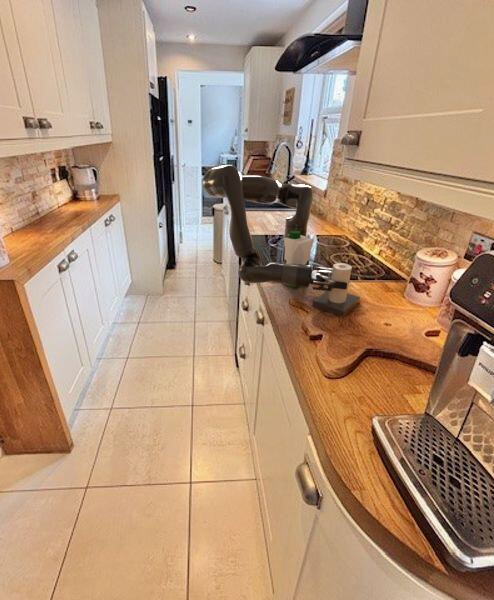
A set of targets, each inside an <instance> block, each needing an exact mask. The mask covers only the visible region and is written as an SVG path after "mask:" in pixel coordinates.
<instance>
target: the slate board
mask: <svg viewBox="0 0 494 600" xmlns="http://www.w3.org/2000/svg"><path fill="white" fill-rule="evenodd" d="M328 294H329V291H324V292H323V293H322V294H320V295H319V296H318V297H316V298H315V299H313V301H312V305H311V306H312V307H314V308H316V309H320V310H322V311H326V312H328V313H331V314H334V315H336V316H339V317H343V318H344V317H345V316H346V315H347V314H348V313H349V312H350V311H351V310H353V309H354V308H355V307H356V306H357V305H358V304H359V303H360V302H361V301H360V300H361V296H358V295H354V294H352V293H348V292H347V296H346V301H345V302H343V303H334V302H331V301H330V300H329V299H328Z"/></svg>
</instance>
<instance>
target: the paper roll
mask: <svg viewBox="0 0 494 600" xmlns="http://www.w3.org/2000/svg"><path fill="white" fill-rule="evenodd" d="M352 268H353V267H352V266H351V264H348V263H343V262H336V263H334V264H333V265H332V268H331V269H332V275H331V279H330V280H333V281H339V282H346V283H347V289H337V288H334V289H332V290H331V291H329V294H328V299H329V300H330V301H331V302H334V303H343V302H345V301H346V296H347V293H348V291H349V286H350V279H351V273H352Z"/></svg>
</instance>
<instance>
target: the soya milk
mask: <svg viewBox="0 0 494 600" xmlns="http://www.w3.org/2000/svg"><path fill="white" fill-rule="evenodd" d="M300 233H301V232H300V231H297V230H292V231H290V232H289V236H288V237H286V238H284V237H283V245H284V244H285V259H284V264H300V265H308V266H310V259H311V251H312V248H313V244H314V241H315V239H314V238H311V237H309V236H306V237H305V236H302V235H300ZM287 286H289V287H290V288H293V289H298V288H300V287H299V286H291V285H287Z"/></svg>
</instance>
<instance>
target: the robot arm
mask: <svg viewBox="0 0 494 600" xmlns="http://www.w3.org/2000/svg"><path fill="white" fill-rule="evenodd" d="M202 186H203V189H204V191H205V192H206V194H207V195H209V196H211V197H212V198H216V199H220V198H226V199H227V201H228V204H229V208H230V221H229V228H228V233H229V234H228V235H229V240H230V242H231V246H232V249H233V251H234V254H235V255H236V257H238V258H240V259H241V262H242V263H241V265H240V267H239V268H238V272H237V274H238V277H239V279H240V280H241V281H243V282H244V283H247V284H263V283H275V284H282V285H287V286H288V285H291V286H299V287H298V288H309V287H310V285H312V288H311V289H312V290H315V291H322V292H323V291H324V292H326V291H331V290H332V289H334V288H337V289H347V283H346V282H339V281H333V280H331V275H332V269H333V268H329V267H323V266H316V267H317V268H316V270H313V266H312V265H309V266H308V265H300V264H284V259H285V244H284V243H283V247H282V259H281V262H276V261H275V262H274V261H272V262H268V264H266V265H262V261H261V258H260V257H261V256H260V255H259V253H258V251H257V249H256V248H255V246H254V242H253V239H252V235H251V232H250V228H249V223H248V217H247V209H246V201H247V202H252V203H256V204H262V205H273V204H274V203H277V204H279V205H283V206H285V207H287V208H292V209H296V210H295V214H294V215H293V214H292V215H288V216H287V217H285V222H284V237H283V239H284V238H286V237H288V236H289V232H290V231H292V230H297V231H300V232H301V233H300V235H302V236H305V237H307V233H308V224H309V220H310V217H311V213H312V205H313V197H314V192H313V188H312V186H309V185H305V184H298V183H280V182H279V181H278V180H276V179H274V178H272V177H269V176H265V175H252V174H251V175H241V173H240V171H239V169H238V168H237V167H236V165H233V164H226V165H221V166H215V167H213V168H210V169H209V170H208V171H206V173H205V174H204V175H203V178H202ZM291 286H290V287H291Z"/></svg>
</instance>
